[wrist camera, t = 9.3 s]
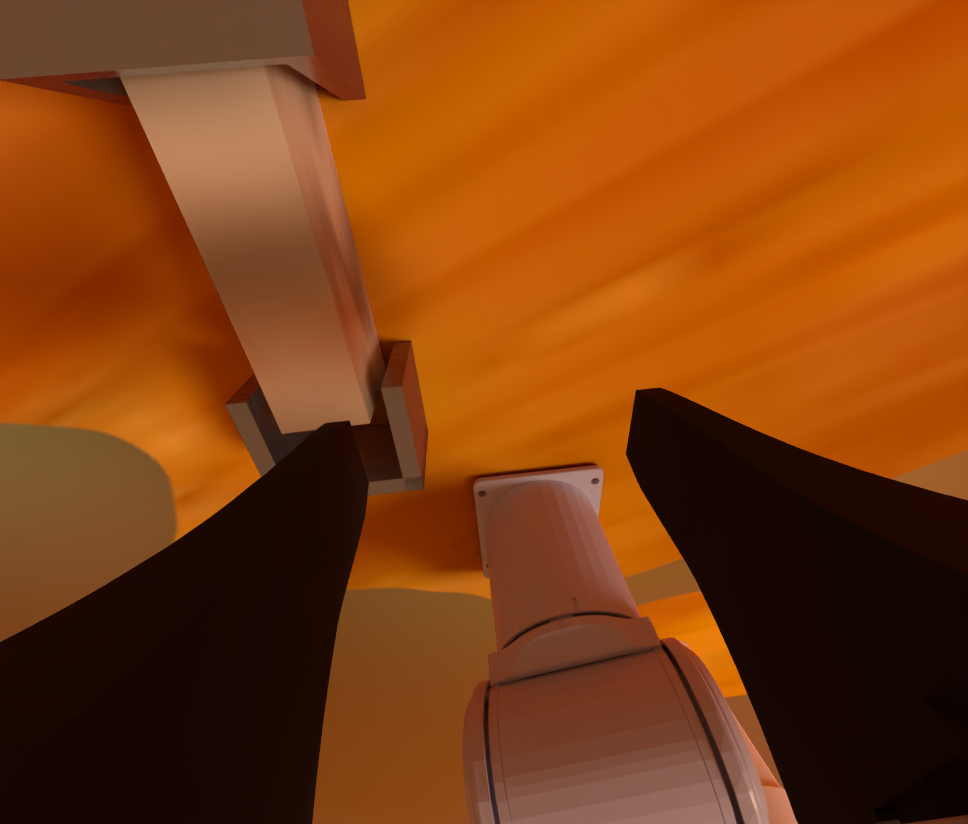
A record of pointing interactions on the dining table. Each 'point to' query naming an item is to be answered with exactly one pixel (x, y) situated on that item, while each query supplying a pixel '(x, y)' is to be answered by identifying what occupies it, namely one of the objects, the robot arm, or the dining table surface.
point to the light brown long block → (270, 232)
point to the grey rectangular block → (173, 42)
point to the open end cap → (383, 448)
